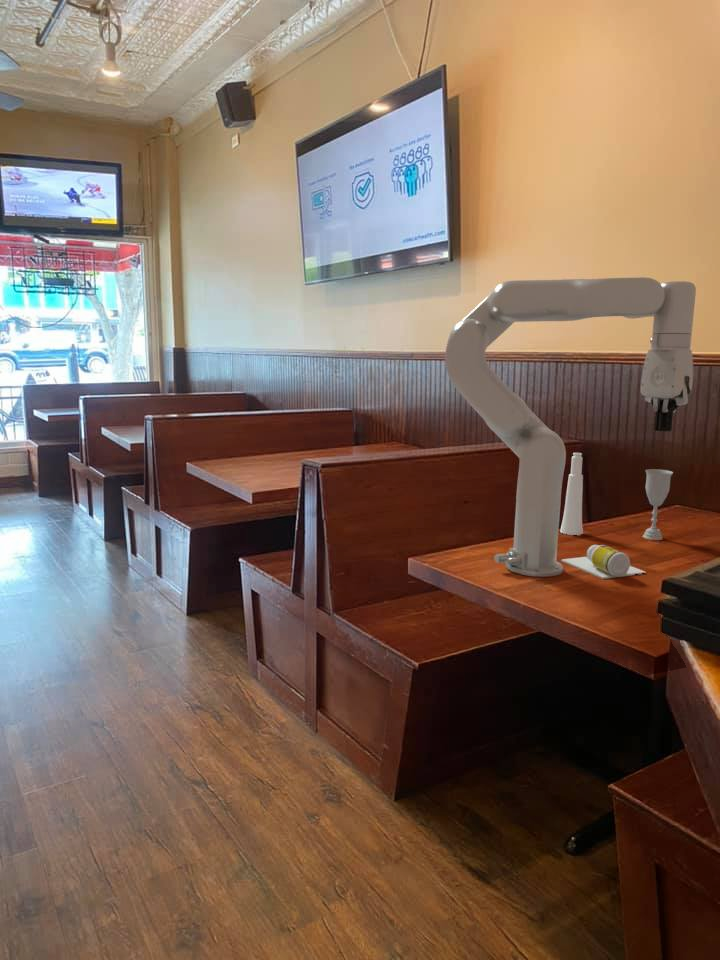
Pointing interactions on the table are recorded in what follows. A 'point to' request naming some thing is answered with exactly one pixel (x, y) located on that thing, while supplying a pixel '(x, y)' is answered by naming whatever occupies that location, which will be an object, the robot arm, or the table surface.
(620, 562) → the supplement bottle
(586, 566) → the mat
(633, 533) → the table surface
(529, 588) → the table surface
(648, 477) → the chalice
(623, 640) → the table surface
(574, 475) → the cosmetic bottle
